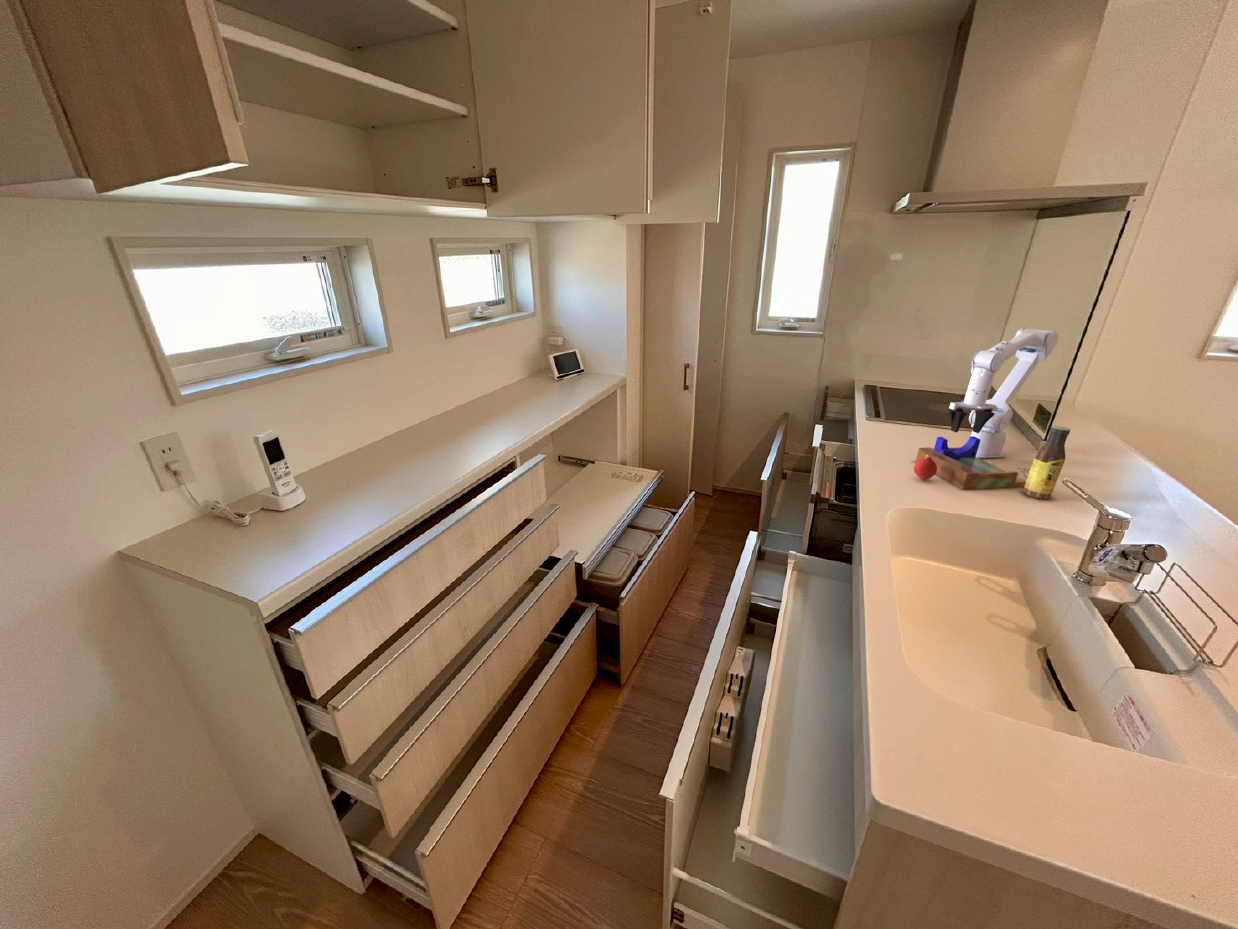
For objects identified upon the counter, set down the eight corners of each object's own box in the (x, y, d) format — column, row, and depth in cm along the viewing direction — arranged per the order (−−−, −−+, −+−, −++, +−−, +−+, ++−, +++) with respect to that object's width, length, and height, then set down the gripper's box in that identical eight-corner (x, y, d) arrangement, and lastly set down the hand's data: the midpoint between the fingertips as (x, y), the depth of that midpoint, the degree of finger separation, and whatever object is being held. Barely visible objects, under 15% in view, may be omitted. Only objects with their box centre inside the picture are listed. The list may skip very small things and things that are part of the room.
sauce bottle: (1043, 502, 136) (1068, 433, 128) (1017, 493, 141) (1040, 426, 133) (1055, 497, 138) (1080, 429, 131) (1029, 488, 144) (1052, 423, 136)
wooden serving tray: (972, 459, 164) (976, 445, 162) (1026, 486, 145) (1031, 470, 143) (915, 462, 162) (918, 447, 160) (962, 489, 143) (967, 473, 141)
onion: (931, 477, 151) (937, 453, 148) (935, 485, 146) (942, 459, 143) (909, 475, 153) (915, 450, 150) (913, 482, 148) (919, 457, 145)
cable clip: (941, 459, 156) (946, 441, 154) (932, 454, 160) (937, 436, 158) (978, 459, 157) (984, 441, 154) (969, 453, 161) (974, 436, 158)
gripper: (966, 392, 150) (953, 434, 155) (1009, 394, 152) (995, 436, 157) (950, 387, 157) (937, 428, 162) (991, 389, 159) (978, 429, 163)
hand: (964, 431), depth 160 cm, fingers open, 7 cm apart
